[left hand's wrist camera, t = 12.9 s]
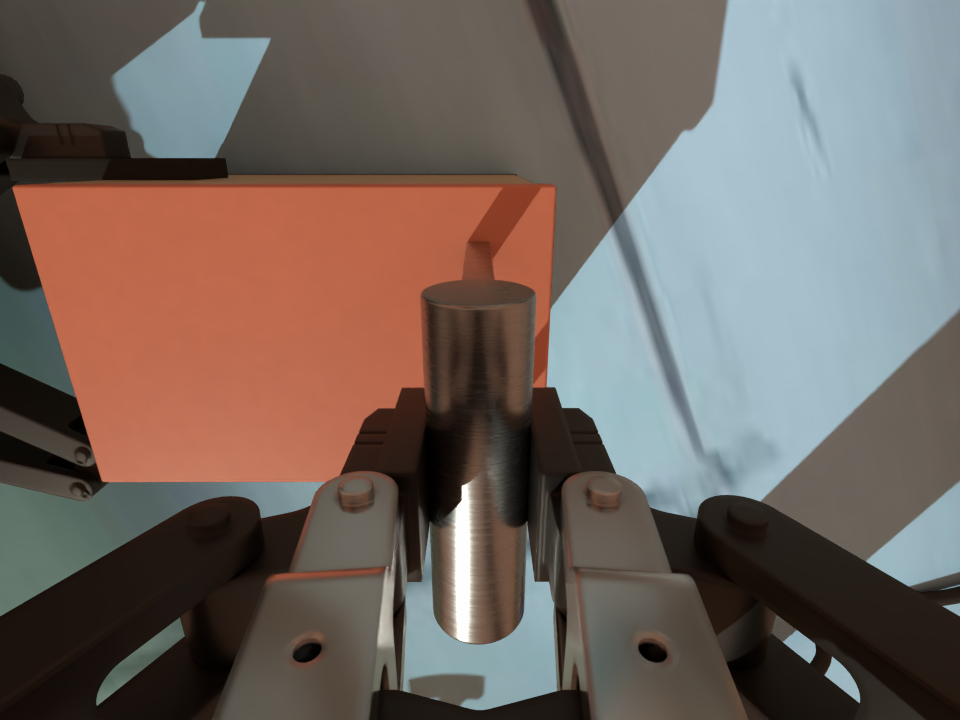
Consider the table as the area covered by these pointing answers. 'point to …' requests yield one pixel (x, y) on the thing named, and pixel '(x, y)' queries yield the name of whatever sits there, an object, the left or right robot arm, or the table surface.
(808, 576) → the left robot arm
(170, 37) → the table surface
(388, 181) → the chest
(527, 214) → the lid
